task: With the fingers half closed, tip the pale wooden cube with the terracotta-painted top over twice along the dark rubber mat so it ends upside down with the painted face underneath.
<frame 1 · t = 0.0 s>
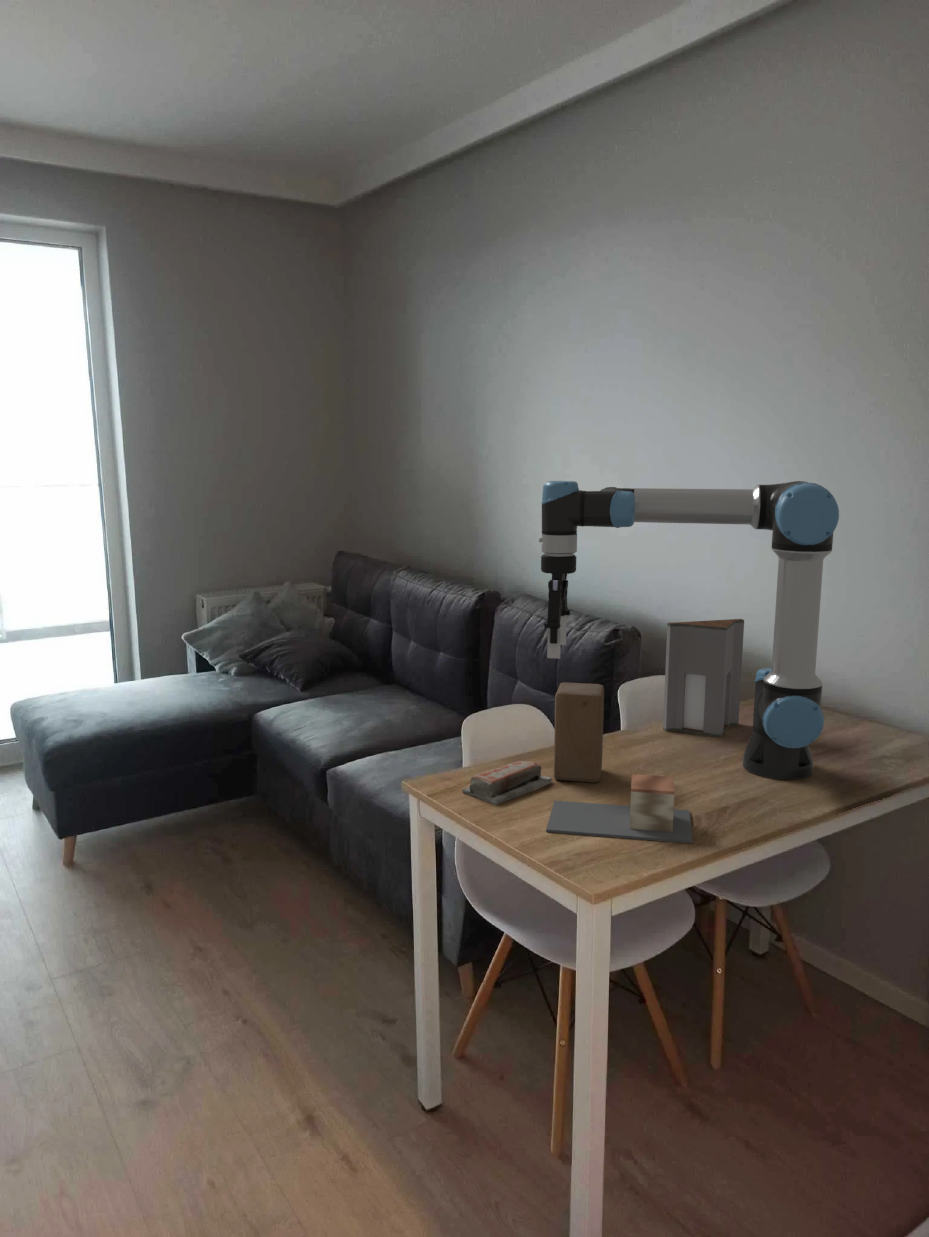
hand: (556, 651, 205), 28 cm above the table, tool pointing down, fingers open, 13 cm apart
cube: (651, 821, 183), resting on rubber mat
rubber mat: (619, 822, 184), on the table
cabinet: (708, 732, 241), on the table
packaged product: (507, 790, 202), on the table
wooden block: (578, 775, 210), on the table
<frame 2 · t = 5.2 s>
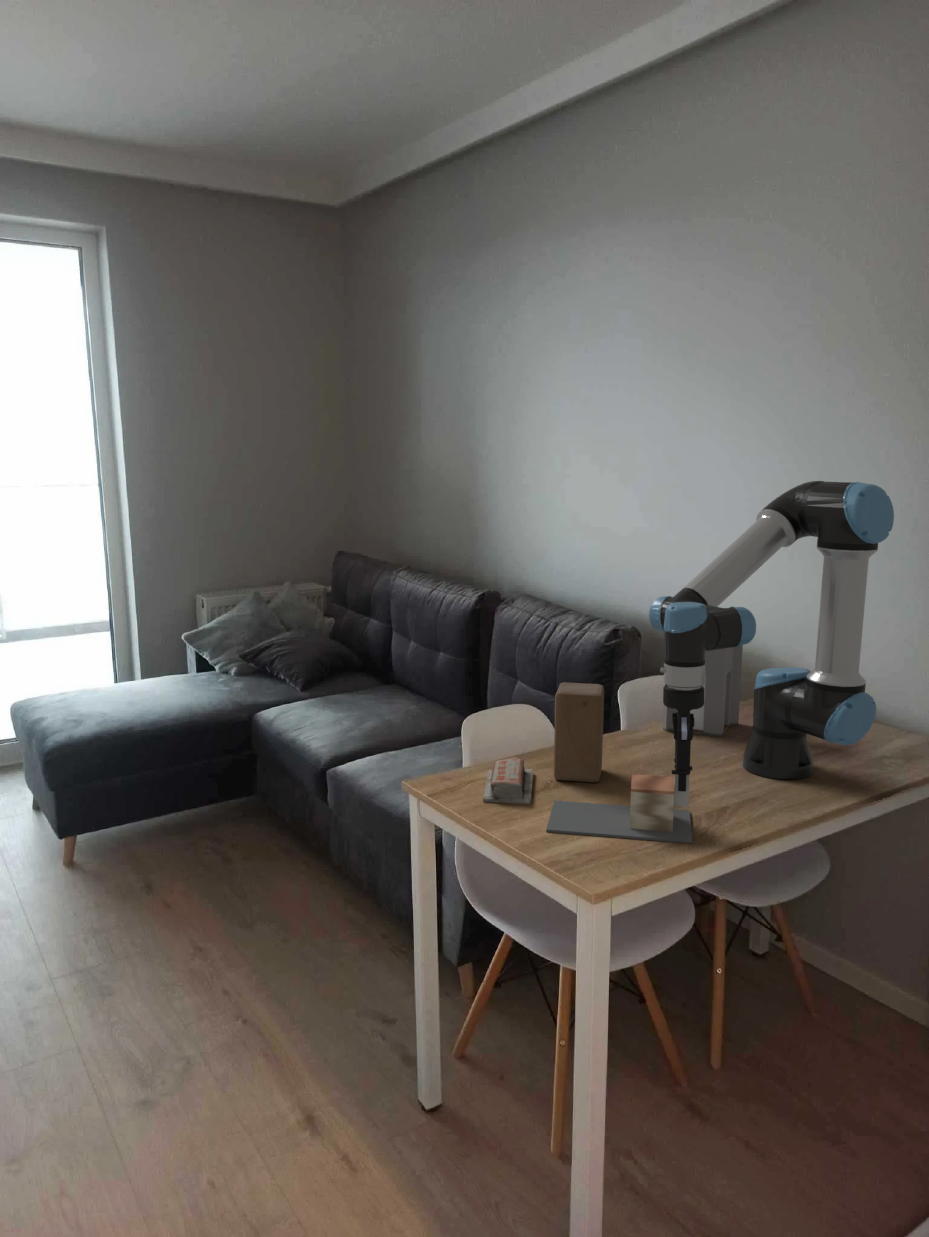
hand: (681, 804, 181), 4 cm above the table, tool pointing down, fingers closed
cube: (651, 821, 183), resting on rubber mat, touching gripper
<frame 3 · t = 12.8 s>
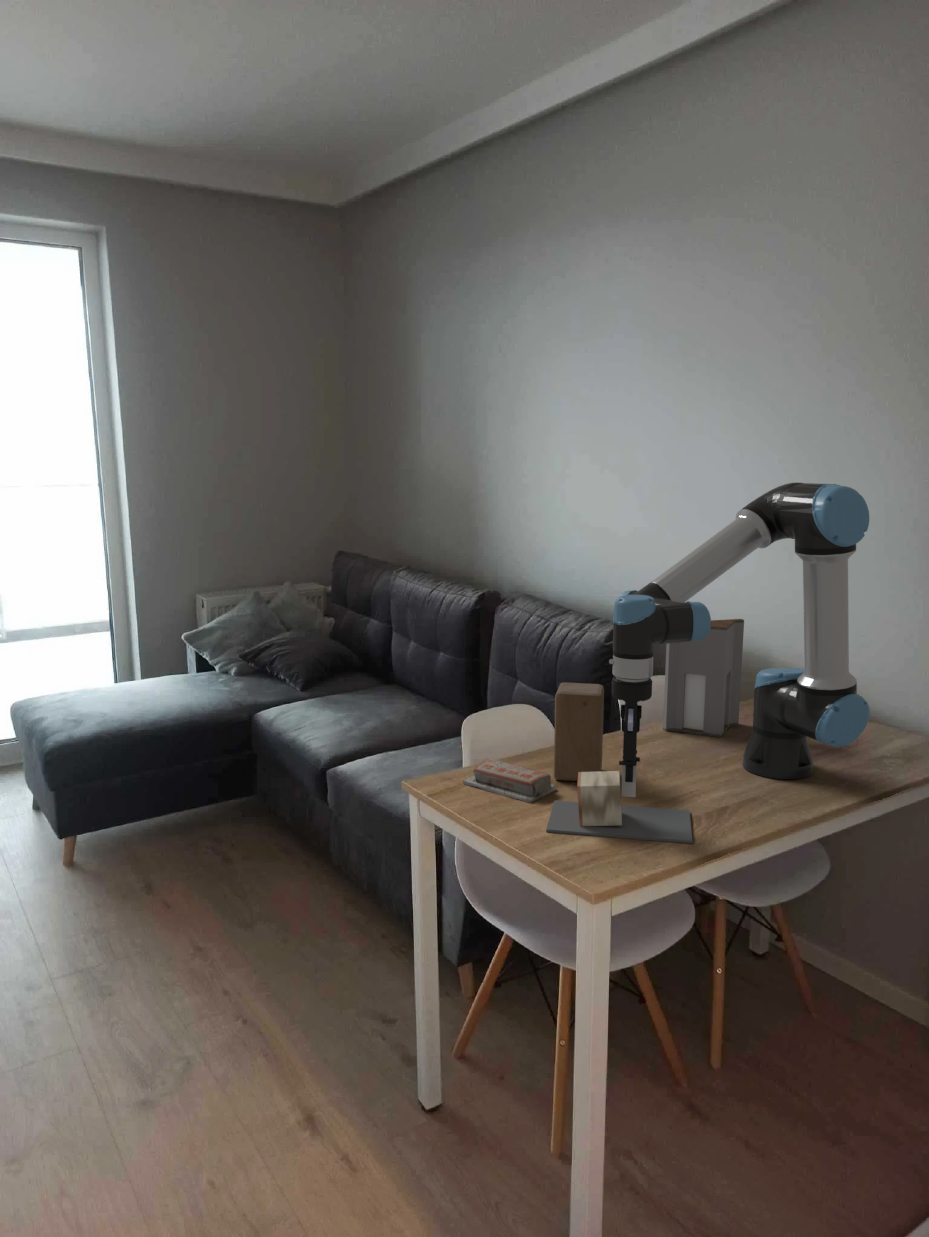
hand: (628, 795, 182), 6 cm above the table, tool pointing down, fingers closed
cube: (620, 797, 182), point 5 cm above the table, tilted 95°, touching rubber mat
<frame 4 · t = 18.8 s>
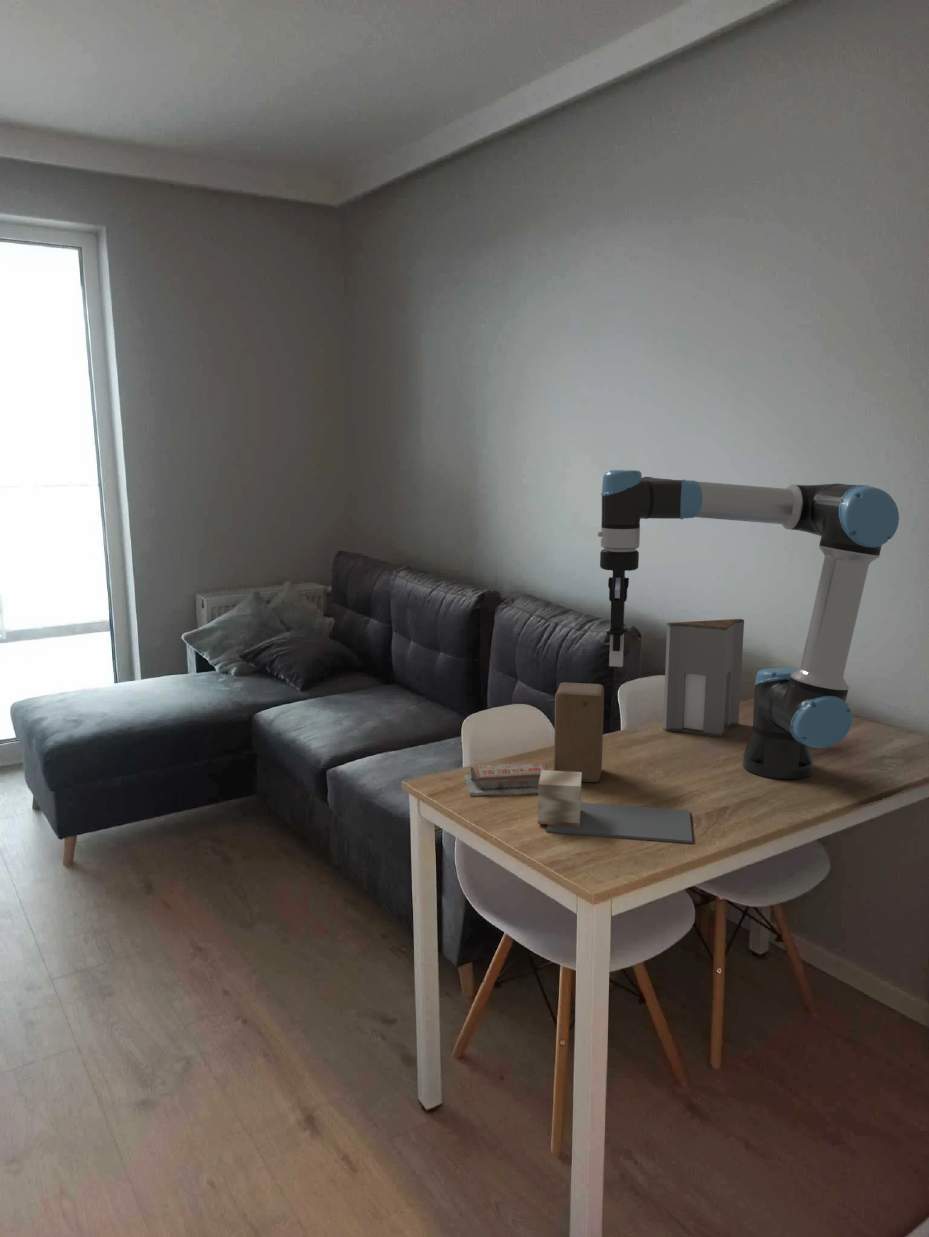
hand: (616, 665, 190), 28 cm above the table, tool pointing down, fingers closed
cube: (560, 778, 183), point 8 cm above the table, tilted 180°, touching rubber mat
at the end: cube tilted 180°; cube inside the target area (1.1 cm from its centre), point 8.5 cm above the table; the gripper is holding nothing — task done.
